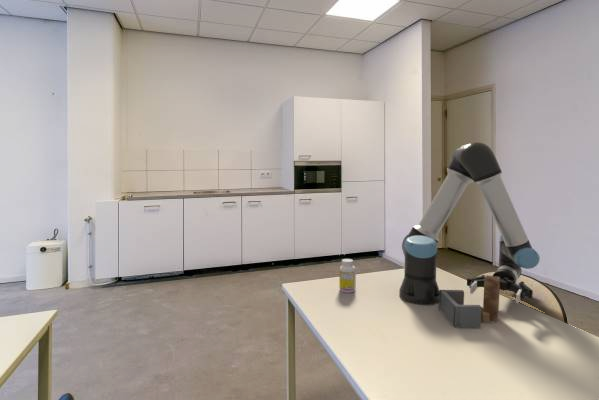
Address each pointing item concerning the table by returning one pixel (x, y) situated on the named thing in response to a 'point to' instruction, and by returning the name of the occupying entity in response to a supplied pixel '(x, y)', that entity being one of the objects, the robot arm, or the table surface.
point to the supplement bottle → (347, 276)
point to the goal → (459, 309)
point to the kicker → (490, 299)
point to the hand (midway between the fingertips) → (493, 294)
